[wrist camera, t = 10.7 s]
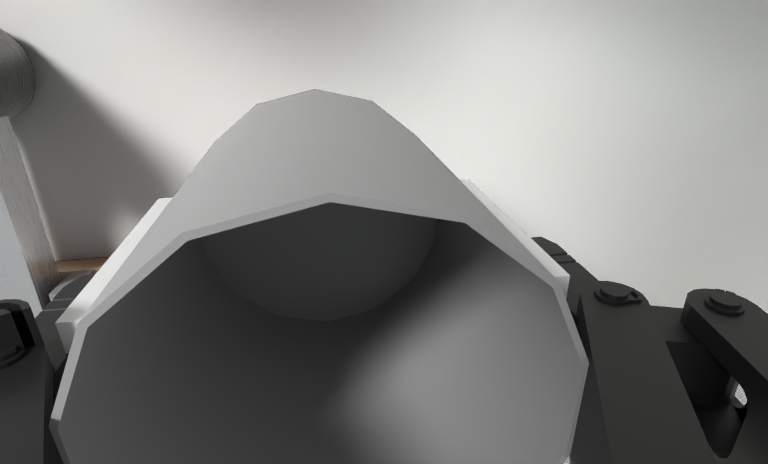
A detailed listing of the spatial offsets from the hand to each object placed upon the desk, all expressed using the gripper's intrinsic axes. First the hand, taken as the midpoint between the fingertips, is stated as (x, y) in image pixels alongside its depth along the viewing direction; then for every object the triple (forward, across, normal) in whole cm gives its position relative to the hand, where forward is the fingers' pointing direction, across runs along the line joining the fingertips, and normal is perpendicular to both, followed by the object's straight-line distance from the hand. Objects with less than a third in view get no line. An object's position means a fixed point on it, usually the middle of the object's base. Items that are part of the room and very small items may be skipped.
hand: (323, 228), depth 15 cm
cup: (+2, 0, 0) cm, 2 cm away
